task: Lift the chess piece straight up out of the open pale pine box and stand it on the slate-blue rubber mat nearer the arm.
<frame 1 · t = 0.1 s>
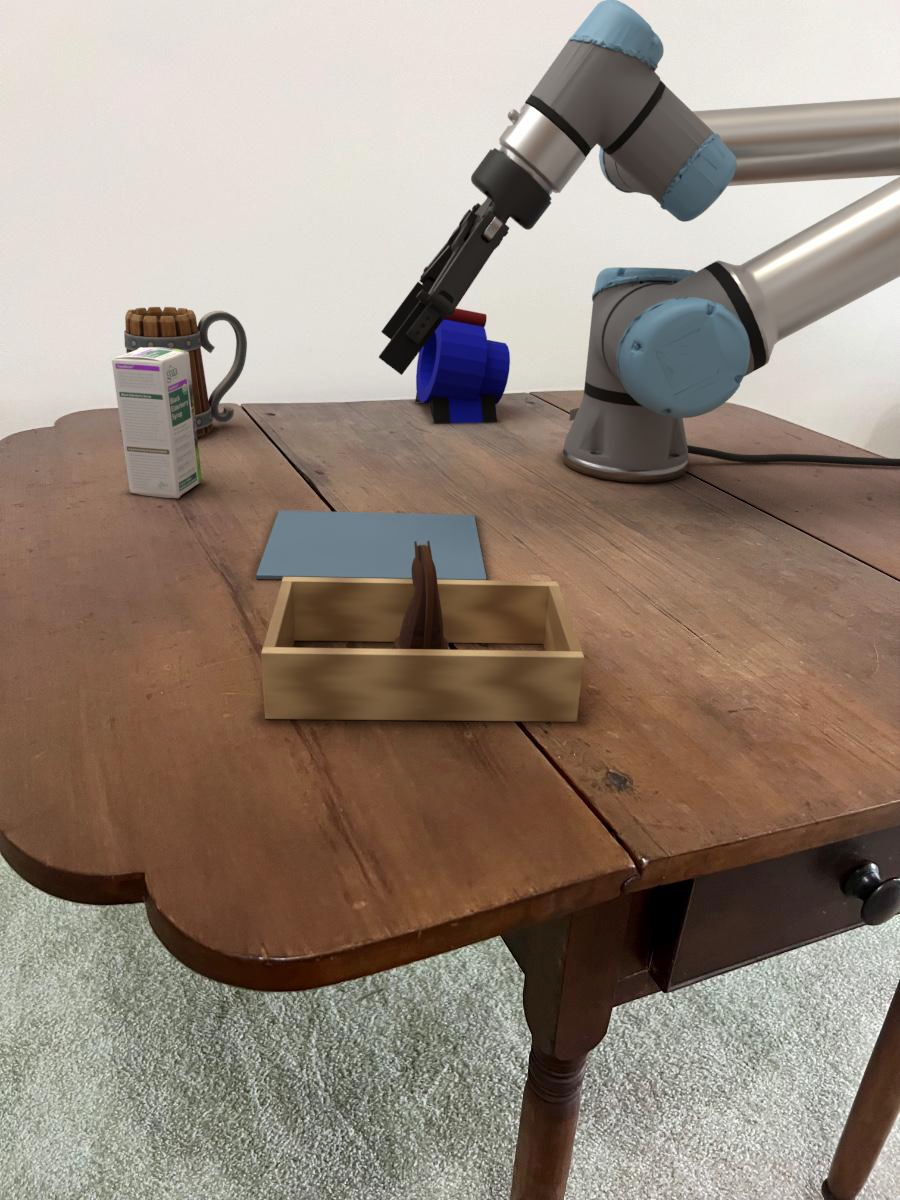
hand: (390, 352, 94), 15 cm above the table, tool tilted 35°, fingers open, 13 cm apart
mat: (374, 546, 87), on the table
alarm clock: (460, 413, 134), on the table
mug: (191, 431, 120), on the table
pine box: (420, 675, 66), on the table
chess piece: (420, 678, 66), resting in pine box
syrup box: (165, 490, 99), on the table
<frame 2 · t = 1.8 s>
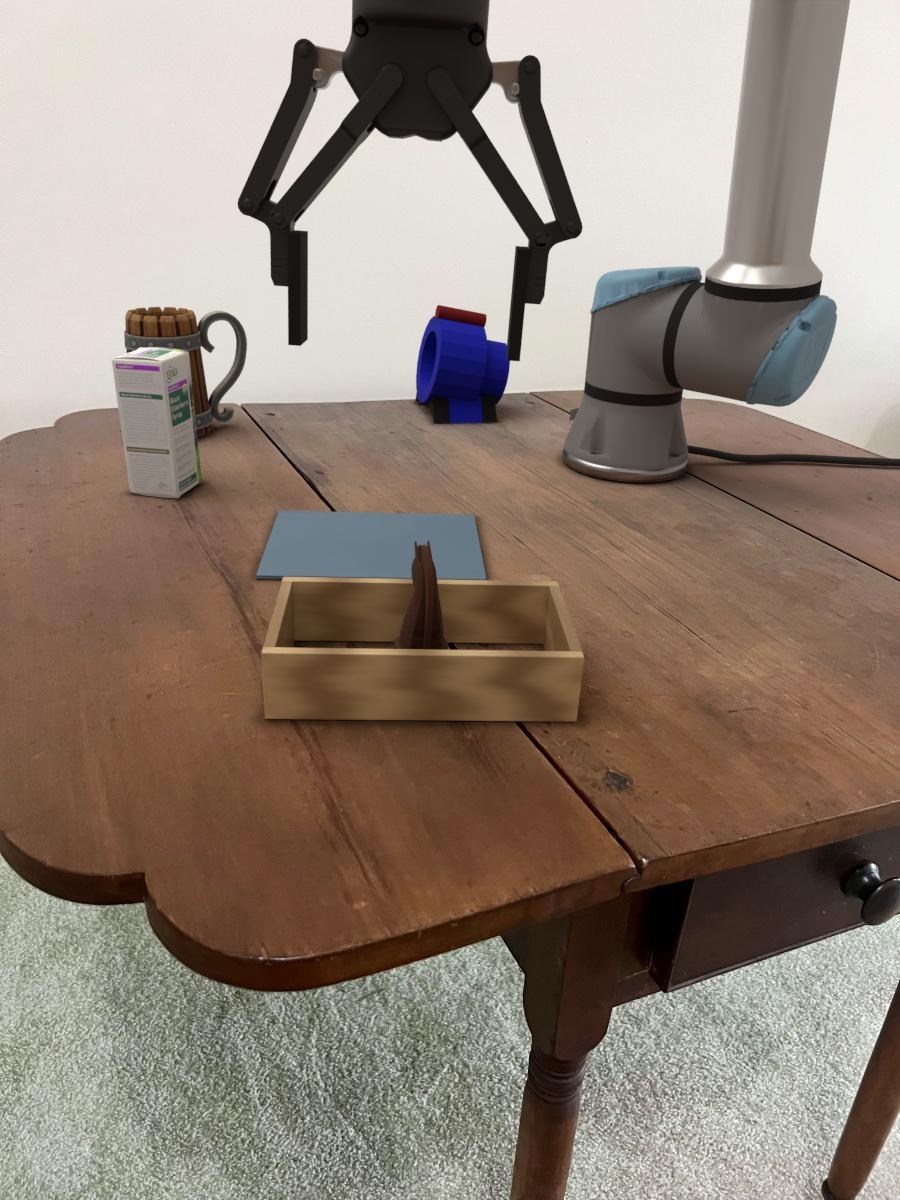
hand: (405, 350, 58), 22 cm above the table, tool pointing down, fingers open, 13 cm apart
nothing on the table moved.
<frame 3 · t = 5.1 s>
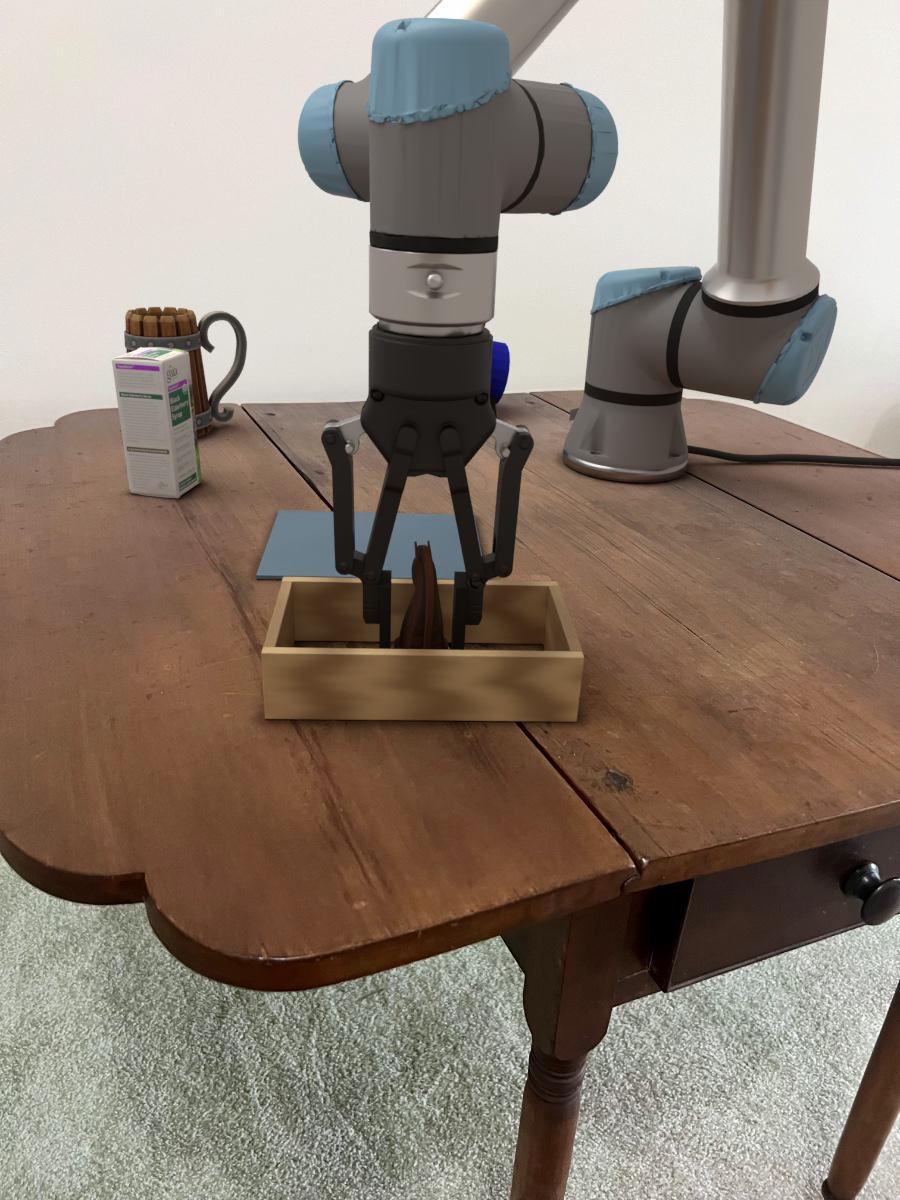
hand: (420, 661, 65), 1 cm above the table, tool pointing down, fingers closed on chess piece, 4 cm apart
chess piece: (421, 678, 66), resting in pine box, touching gripper
everything else where it was.
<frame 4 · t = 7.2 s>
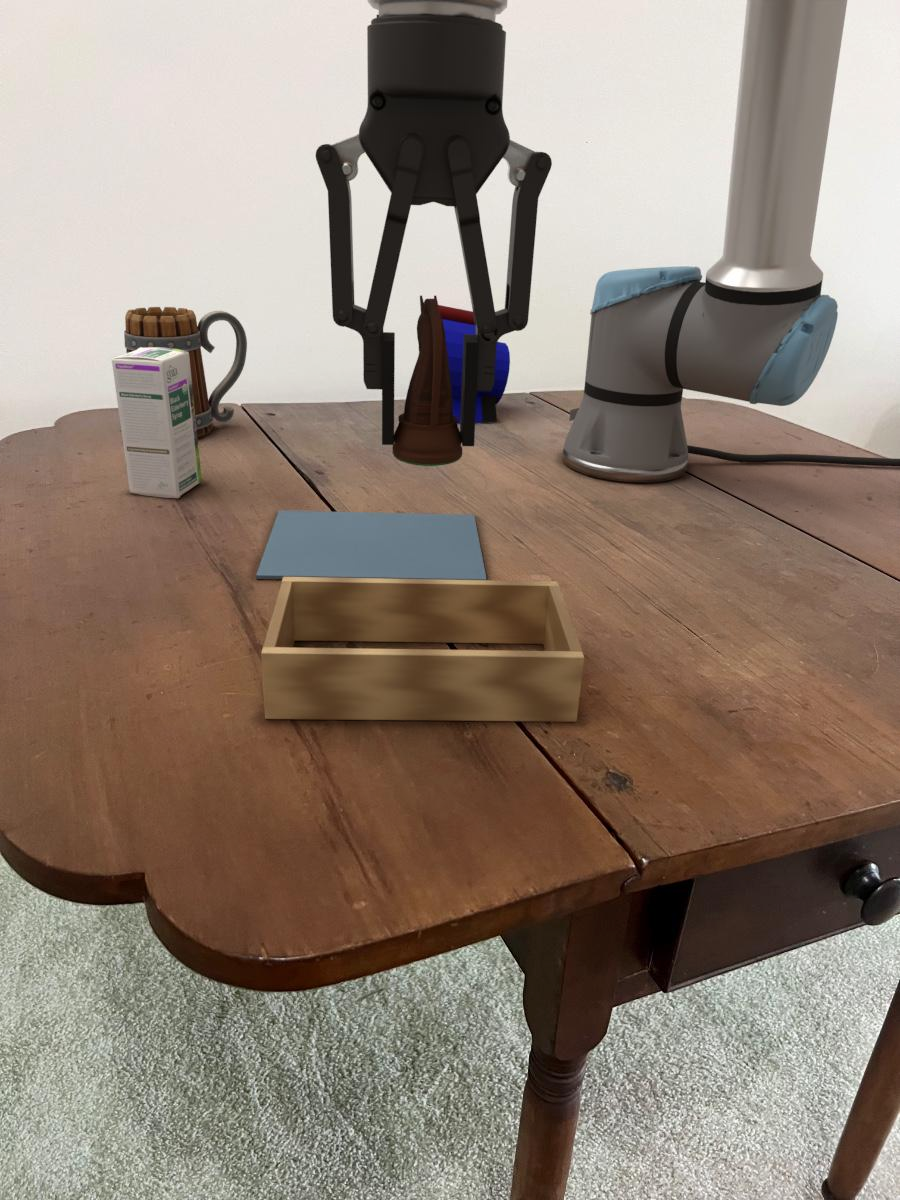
hand: (427, 438, 60), 17 cm above the table, tool pointing down, fingers closed on chess piece, 4 cm apart
chess piece: (428, 459, 60), point 16 cm above the table, touching gripper
everything else where it was.
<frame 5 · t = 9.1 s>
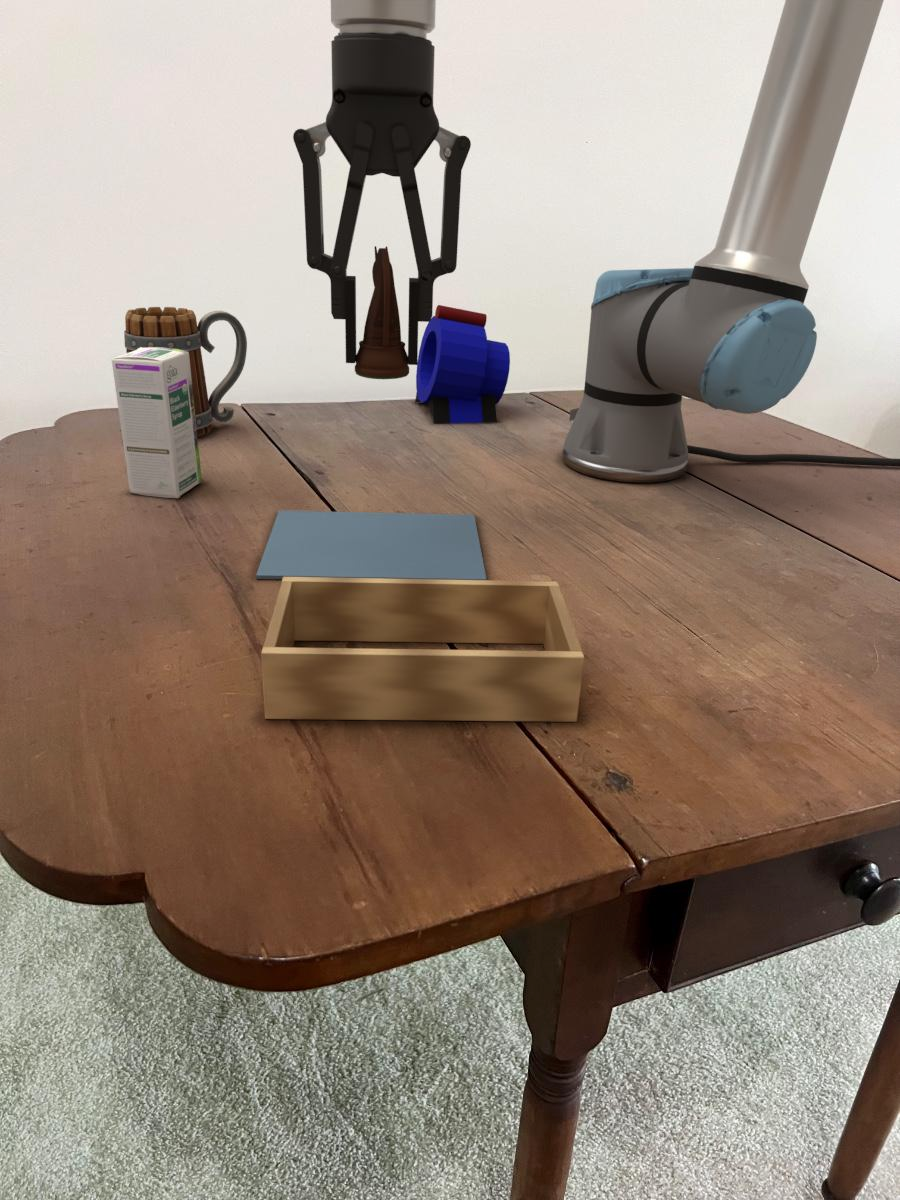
hand: (381, 360, 77), 18 cm above the table, tool pointing down, fingers closed on chess piece, 4 cm apart
chess piece: (382, 376, 77), point 17 cm above the table, touching gripper
everything else where it was.
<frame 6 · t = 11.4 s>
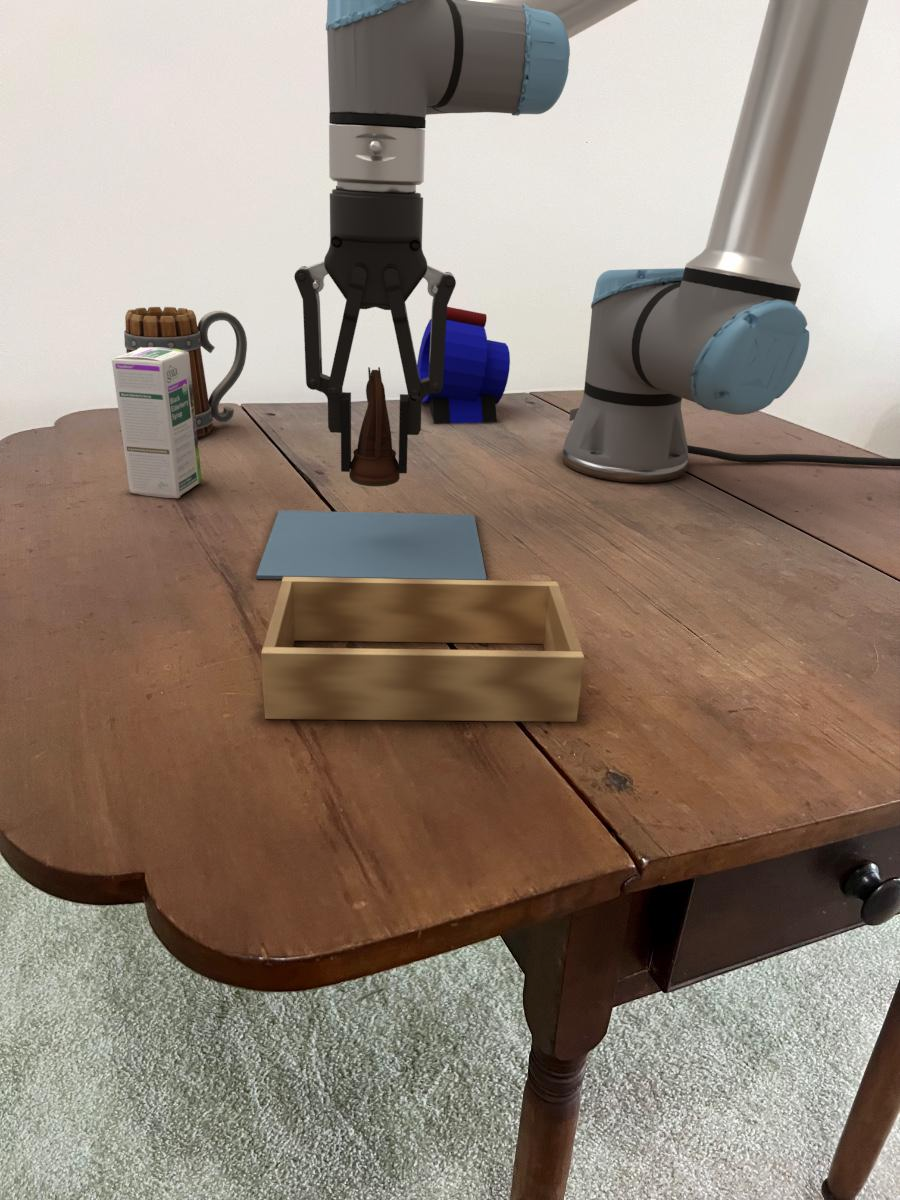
hand: (374, 467, 84), 8 cm above the table, tool pointing down, fingers closed on chess piece, 4 cm apart
chess piece: (374, 481, 84), point 6 cm above the table, touching gripper
everything else where it was.
when the fingers open (1 cm above the table, at t = 13.1 s): chess piece stays where it is, resting on mat.
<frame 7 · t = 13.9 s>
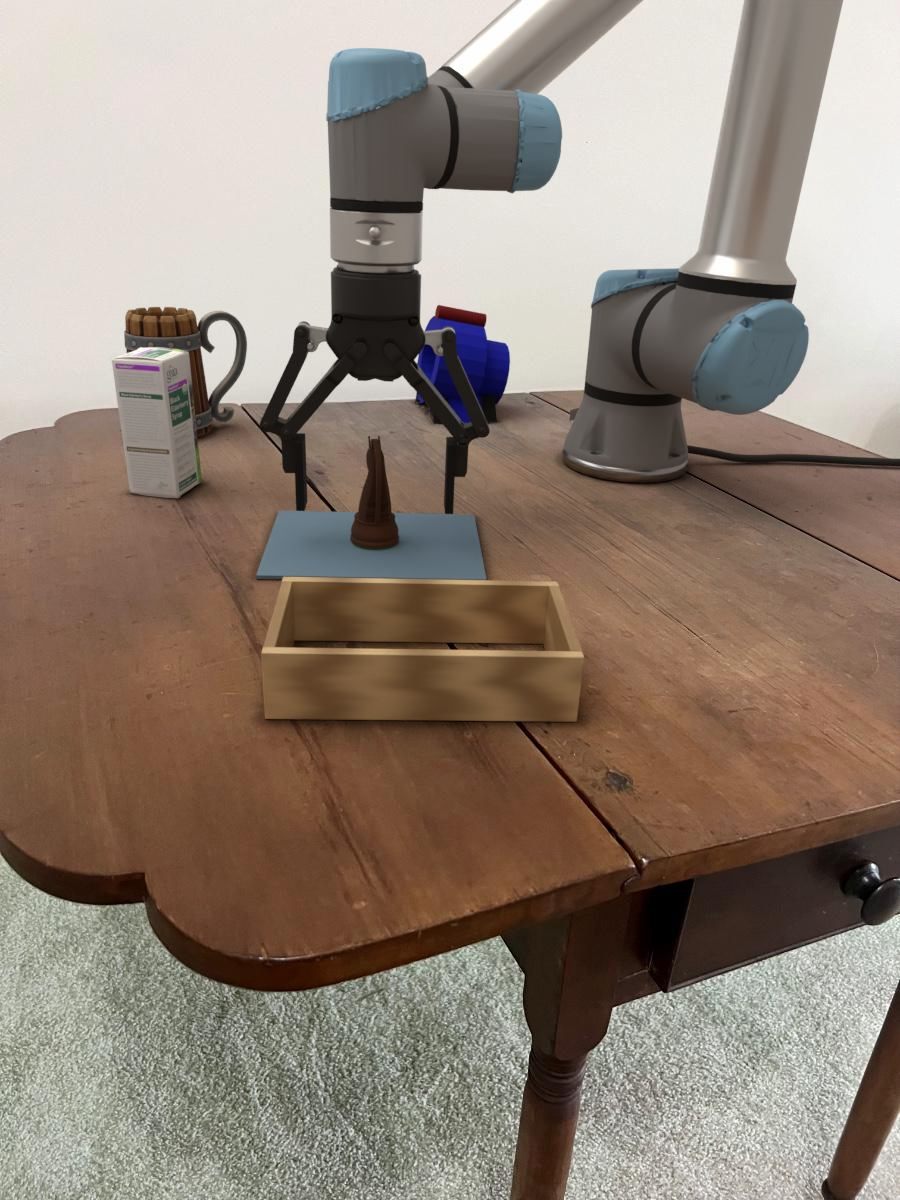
hand: (375, 507, 85), 4 cm above the table, tool pointing down, fingers open, 13 cm apart
chess piece: (375, 544, 87), resting on mat
everything else where it was.
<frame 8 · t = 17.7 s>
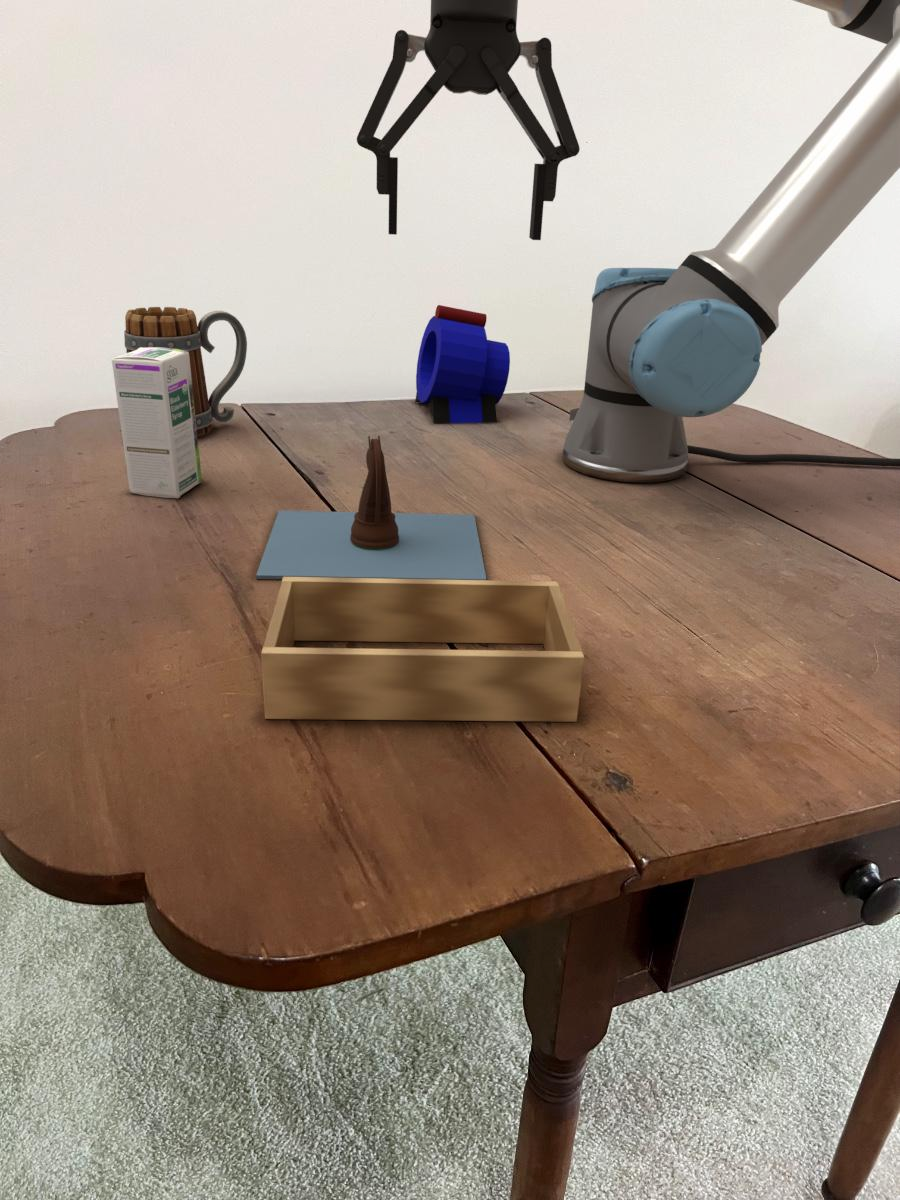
hand: (464, 236, 88), 27 cm above the table, tool pointing down, fingers open, 13 cm apart
nothing on the table moved.
at the end: chess piece inside the target area on the mat (0.0 cm from its centre), point 0.2 cm above the mat's base; chess piece tilted 0° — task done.
